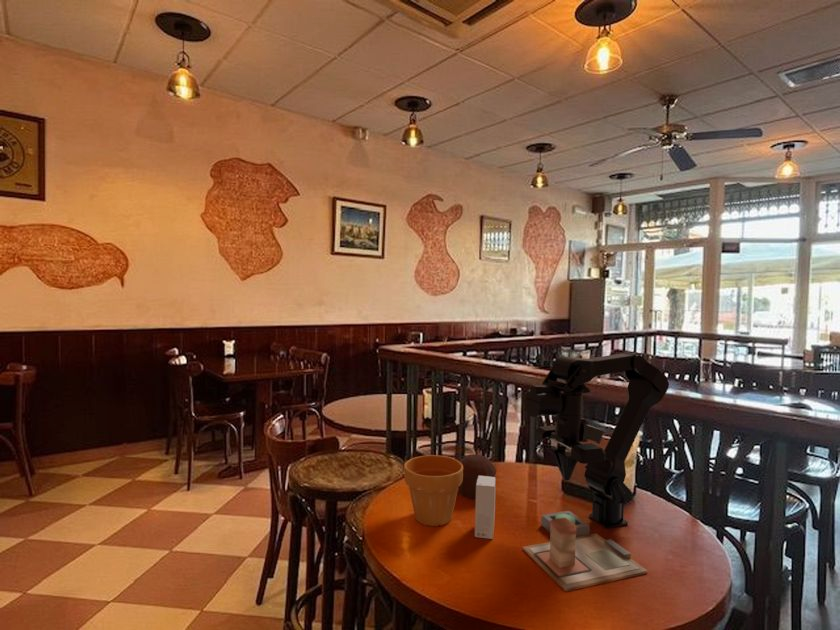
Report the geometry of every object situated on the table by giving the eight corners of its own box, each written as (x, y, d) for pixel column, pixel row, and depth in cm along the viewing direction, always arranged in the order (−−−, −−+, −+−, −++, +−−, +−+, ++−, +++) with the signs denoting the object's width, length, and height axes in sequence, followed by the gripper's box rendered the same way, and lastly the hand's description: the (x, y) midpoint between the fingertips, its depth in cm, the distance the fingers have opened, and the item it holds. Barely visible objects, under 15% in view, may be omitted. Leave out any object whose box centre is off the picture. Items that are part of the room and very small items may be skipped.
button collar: (568, 520, 115) (569, 510, 114) (589, 536, 107) (589, 525, 107) (541, 525, 112) (541, 515, 112) (560, 541, 105) (561, 530, 105)
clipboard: (596, 535, 108) (596, 529, 108) (647, 573, 94) (647, 565, 93) (522, 549, 102) (522, 542, 102) (565, 591, 87) (565, 583, 87)
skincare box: (493, 539, 105) (494, 487, 105) (474, 537, 106) (475, 485, 106) (494, 526, 111) (496, 476, 111) (476, 524, 112) (477, 474, 112)
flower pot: (394, 525, 111) (395, 471, 110) (415, 500, 124) (416, 451, 124) (452, 537, 106) (453, 480, 106) (468, 510, 120) (469, 459, 119)
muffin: (498, 502, 124) (499, 465, 123) (456, 502, 124) (457, 464, 124) (492, 484, 136) (493, 449, 135) (453, 483, 136) (454, 449, 135)
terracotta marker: (564, 555, 98) (565, 517, 98) (575, 564, 95) (576, 525, 94) (549, 558, 97) (550, 520, 97) (559, 568, 94) (560, 528, 93)
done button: (567, 523, 113) (567, 512, 112) (579, 533, 108) (579, 521, 108) (551, 526, 111) (551, 515, 111) (562, 535, 107) (563, 524, 107)
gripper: (627, 420, 102) (624, 492, 103) (572, 401, 120) (571, 462, 121) (583, 424, 99) (581, 498, 99) (534, 404, 116) (532, 466, 117)
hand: (566, 479), depth 109 cm, fingers closed
